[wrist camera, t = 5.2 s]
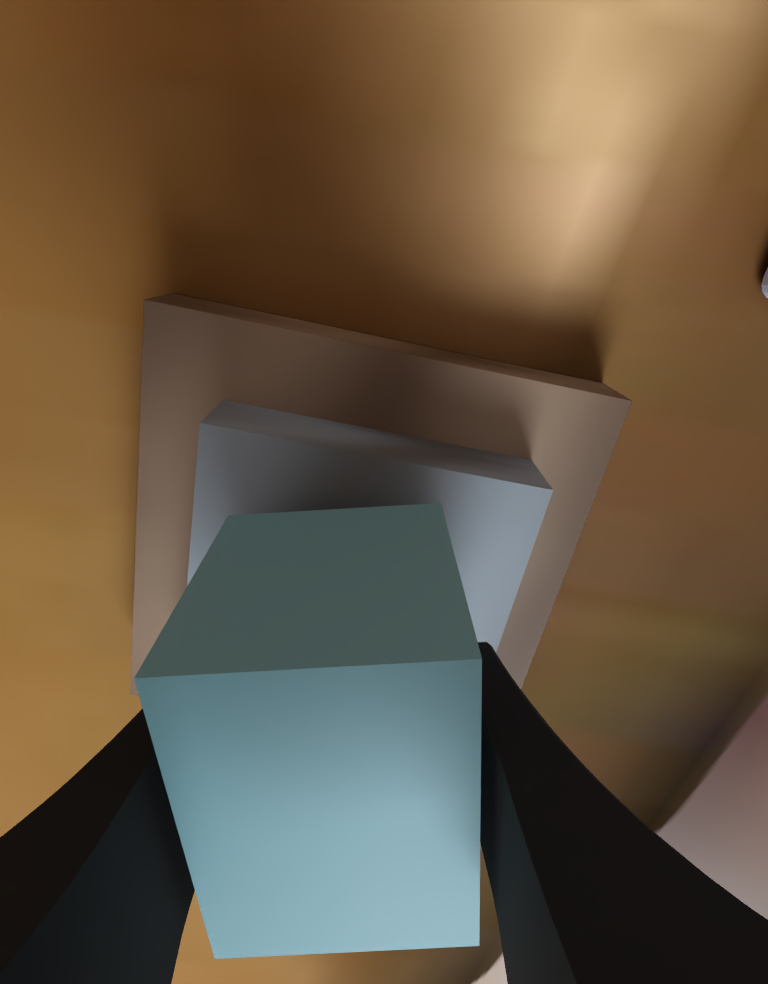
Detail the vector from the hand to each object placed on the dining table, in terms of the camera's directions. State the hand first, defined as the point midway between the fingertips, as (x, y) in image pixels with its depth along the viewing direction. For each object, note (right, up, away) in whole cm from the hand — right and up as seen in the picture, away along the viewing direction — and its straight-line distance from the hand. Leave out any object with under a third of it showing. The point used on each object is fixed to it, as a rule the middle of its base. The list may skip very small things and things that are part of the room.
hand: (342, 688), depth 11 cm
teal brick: (0, +1, +2) cm, 2 cm away
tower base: (0, +3, +6) cm, 7 cm away
